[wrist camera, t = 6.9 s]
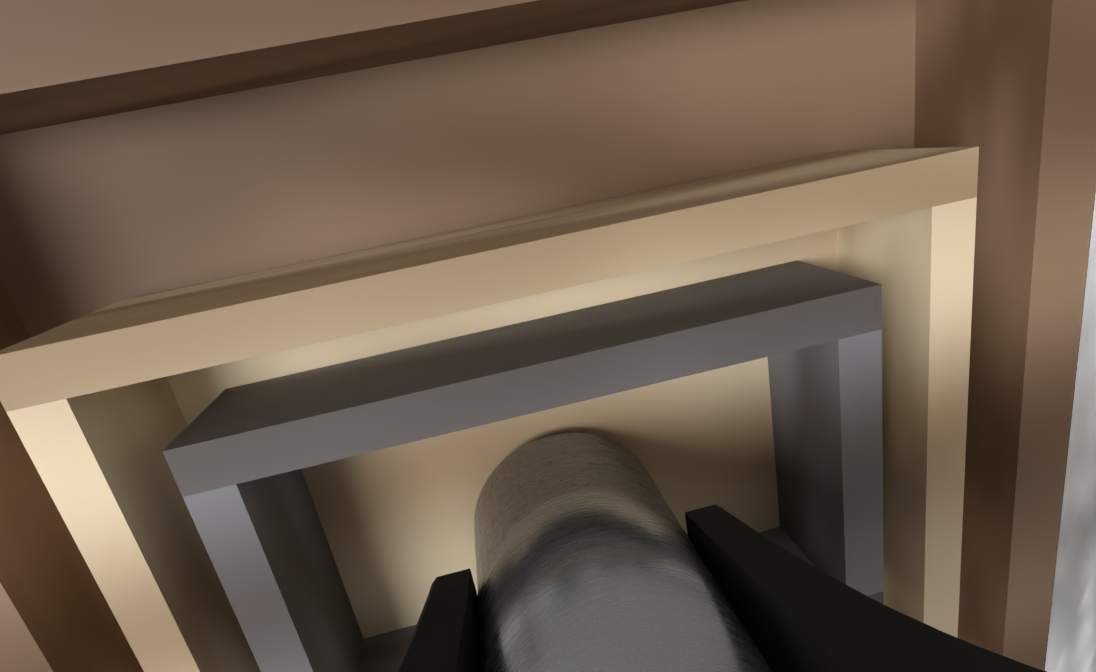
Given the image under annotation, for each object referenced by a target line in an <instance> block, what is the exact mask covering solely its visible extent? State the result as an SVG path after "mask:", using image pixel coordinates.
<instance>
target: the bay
mask: <svg viewBox="0 0 1096 672" xmlns="http://www.w3.org/2000/svg"><path fill="white" fill-rule="evenodd" d="M976 146H979V160H978V182H977V205H976V228H975V251H974V273H973V296H972V319H971V342H970V364H969V387H968V410H967V432H966V455H965V478H964V501H963V523H962V546H961V569H960V592H959V614H958V637H957V638H959V639H961V640H964V641H966V642H969V643H971V644H974V645H976V646H979V647H981V648H984V649H987V650H989V651H992V652H994V653H997V654H1000V655H1002V656H1005V657H1008V658H1010V659H1013V660H1015V661H1018V662H1021V663H1023V664H1026V665H1029V666H1031V667H1034V668H1037V669H1040V670H1043V671H1045V661H1046V652H1047V642H1048V633H1049V624H1050V614H1051V605H1052V596H1053V586H1054V577H1055V567H1056V558H1057V549H1058V539H1059V530H1060V520H1061V511H1062V502H1063V492H1064V483H1065V474H1066V464H1067V455H1068V445H1069V436H1070V427H1071V417H1072V408H1073V399H1074V389H1075V380H1076V370H1077V361H1078V352H1079V342H1080V333H1081V323H1082V314H1083V305H1084V295H1085V286H1086V277H1087V267H1088V258H1089V248H1090V239H1091V230H1092V220H1093V211H1094V201H1095V192H1096V0H0V350H2V349H5V348H7V347H9V346H12V345H14V344H17V343H19V342H21V341H24V340H26V339H29V338H31V337H34V336H36V335H38V334H41V333H43V332H46V331H48V330H51V329H53V328H55V327H58V326H60V325H63V324H65V323H68V322H70V321H72V320H75V319H77V318H80V317H82V316H84V315H87V314H89V313H92V312H94V311H97V310H99V309H101V308H104V307H106V306H109V305H111V304H114V303H116V302H118V301H122V300H127V299H131V298H136V297H141V296H146V295H151V294H155V293H160V292H165V291H170V290H175V289H179V288H184V287H189V286H194V285H199V284H203V283H208V282H213V281H218V280H223V279H227V278H232V277H237V276H242V275H247V274H251V273H256V272H261V271H266V270H271V269H275V268H280V267H285V266H290V265H295V264H299V263H304V262H309V261H314V260H319V259H323V258H328V257H333V256H338V255H342V254H347V253H352V252H357V251H362V250H366V249H371V248H376V247H381V246H386V245H390V244H395V243H400V242H405V241H410V240H414V239H419V238H424V237H429V236H434V235H438V234H443V233H448V232H453V231H458V230H462V229H467V228H472V227H477V226H482V225H486V224H491V223H496V222H501V221H506V220H510V219H515V218H520V217H525V216H530V215H534V214H539V213H544V212H549V211H553V210H558V209H563V208H568V207H573V206H577V205H582V204H587V203H592V202H597V201H601V200H606V199H611V198H616V197H621V196H625V195H630V194H635V193H640V192H645V191H649V190H654V189H659V188H664V187H669V186H673V185H678V184H683V183H688V182H693V181H697V180H702V179H707V178H712V177H717V176H721V175H726V174H731V173H736V172H741V171H745V170H750V169H755V168H760V167H764V166H769V165H774V164H779V163H784V162H788V161H793V160H798V159H803V158H808V157H812V156H817V155H822V154H827V153H832V152H836V151H847V150H880V149H912V148H944V147H976ZM0 672H144V671H143V669H142V667H141V665H140V663H139V661H138V660H137V658H136V656H135V654H134V652H133V650H132V648H131V646H130V644H129V643H128V641H127V639H126V637H125V635H124V633H123V631H122V629H121V627H120V626H119V624H118V622H117V620H116V618H115V616H114V614H113V612H112V611H111V609H110V607H109V605H108V603H107V601H106V599H105V597H104V595H103V594H102V592H101V590H100V588H99V586H98V584H97V582H96V580H95V579H94V577H93V575H92V573H91V571H90V569H89V567H88V565H87V563H86V562H85V560H84V558H83V556H82V554H81V552H80V550H79V548H78V546H77V545H76V543H75V541H74V539H73V537H72V535H71V533H70V531H69V530H68V528H67V526H66V524H65V522H64V520H63V518H62V516H61V514H60V513H59V511H58V509H57V507H56V505H55V503H54V501H53V499H52V497H51V496H50V494H49V492H48V490H47V488H46V486H45V484H44V482H43V481H42V479H41V477H40V475H39V473H38V471H37V469H36V467H35V465H34V464H33V462H32V460H31V458H30V456H29V454H28V452H27V450H26V448H25V447H24V445H23V443H22V441H21V439H20V437H19V435H18V433H17V432H16V430H15V428H14V426H13V424H12V422H11V420H10V418H9V416H8V415H7V413H6V411H5V409H4V407H3V405H2V403H1V401H0Z"/></svg>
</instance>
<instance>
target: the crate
mask: <svg viewBox="0 0 1096 672" xmlns="http://www.w3.org/2000/svg"><path fill="white" fill-rule="evenodd" d="M978 160H979V146H976V147H944V148H912V149H880V150H847V151H836V152H832V153H827V154H822V155H817V156H812V157H808V158H803V159H798V160H793V161H788V162H784V163H779V164H774V165H769V166H764V167H760V168H755V169H750V170H745V171H741V172H736V173H731V174H726V175H721V176H717V177H712V178H707V179H702V180H697V181H693V182H688V183H683V184H678V185H673V186H669V187H664V188H659V189H654V190H649V191H645V192H640V193H635V194H630V195H625V196H621V197H616V198H611V199H606V200H601V201H597V202H592V203H587V204H582V205H577V206H573V207H568V208H563V209H558V210H553V211H549V212H544V213H539V214H534V215H530V216H525V217H520V218H515V219H510V220H506V221H501V222H496V223H491V224H486V225H482V226H477V227H472V228H467V229H462V230H458V231H453V232H448V233H443V234H438V235H434V236H429V237H424V238H419V239H414V240H410V241H405V242H400V243H395V244H390V245H386V246H381V247H376V248H371V249H366V250H362V251H357V252H352V253H347V254H342V255H338V256H333V257H328V258H323V259H319V260H314V261H309V262H304V263H299V264H295V265H290V266H285V267H280V268H275V269H271V270H266V271H261V272H256V273H251V274H247V275H242V276H237V277H232V278H227V279H223V280H218V281H213V282H208V283H203V284H199V285H194V286H189V287H184V288H179V289H175V290H170V291H165V292H160V293H155V294H151V295H146V296H141V297H136V298H131V299H127V300H122V301H118V302H116V303H114V304H111V305H109V306H106V307H104V308H101V309H99V310H97V311H94V312H92V313H89V314H87V315H84V316H82V317H80V318H77V319H75V320H72V321H70V322H68V323H65V324H63V325H60V326H58V327H55V328H53V329H51V330H48V331H46V332H43V333H41V334H38V335H36V336H34V337H31V338H29V339H26V340H24V341H21V342H19V343H17V344H14V345H12V346H9V347H7V348H5V349H2V350H0V401H1V403H2V405H3V407H4V409H5V411H6V413H7V415H8V416H9V418H10V420H11V422H12V424H13V426H14V428H15V430H16V432H17V433H18V435H19V437H20V439H21V441H22V443H23V445H24V447H25V448H26V450H27V452H28V454H29V456H30V458H31V460H32V462H33V464H34V465H35V467H36V469H37V471H38V473H39V475H40V477H41V479H42V481H43V482H44V484H45V486H46V488H47V490H48V492H49V494H50V496H51V497H52V499H53V501H54V503H55V505H56V507H57V509H58V511H59V513H60V514H61V516H62V518H63V520H64V522H65V524H66V526H67V528H68V530H69V531H70V533H71V535H72V537H73V539H74V541H75V543H76V545H77V546H78V548H79V550H80V552H81V554H82V556H83V558H84V560H85V562H86V563H87V565H88V567H89V569H90V571H91V573H92V575H93V577H94V579H95V580H96V582H97V584H98V586H99V588H100V590H101V592H102V594H103V595H104V597H105V599H106V601H107V603H108V605H109V607H110V609H111V611H112V612H113V614H114V616H115V618H116V620H117V622H118V624H119V626H120V627H121V629H122V631H123V633H124V635H125V637H126V639H127V641H128V643H129V644H130V646H131V648H132V650H133V652H134V654H135V656H136V658H137V660H138V661H139V663H140V665H141V667H142V669H143V671H144V672H396V670H397V668H398V666H399V663H400V661H401V659H402V657H403V655H404V652H405V650H406V648H407V646H408V644H409V641H410V639H411V637H412V634H413V632H414V629H415V627H416V625H417V622H418V620H419V617H420V615H421V612H422V610H423V607H424V604H425V602H426V599H427V596H428V594H429V591H430V588H431V585H432V583H433V582H434V580H435V579H436V577H439V576H443V575H446V574H450V573H454V572H458V571H462V570H466V569H469V568H470V570H471V574H472V577H473V581H474V584H475V588H476V592H477V595H478V591H477V572H476V553H475V533H474V515H475V509H476V504H477V500H478V498H479V495H480V492H481V490H482V488H483V486H484V484H485V482H486V481H487V479H488V478H489V476H490V475H491V474H492V472H493V471H494V470H495V469H496V468H497V467H498V465H499V464H500V463H501V462H502V461H503V460H505V459H506V458H507V457H508V456H510V455H511V454H512V453H513V452H515V451H517V450H518V449H520V448H521V447H523V446H525V445H527V444H529V443H531V442H533V441H536V440H538V439H541V438H544V437H547V436H552V435H556V434H563V433H587V434H594V435H598V436H602V437H605V438H608V439H611V440H613V441H615V442H617V443H619V444H621V445H622V446H624V447H626V448H627V449H628V450H630V451H631V452H632V453H633V454H634V455H636V457H637V458H638V459H639V460H640V461H641V462H642V463H643V465H644V466H645V468H646V469H647V471H648V473H649V474H650V476H651V477H652V479H653V481H654V482H655V484H656V485H657V487H658V489H659V490H660V492H661V493H662V495H663V497H664V498H665V500H666V501H667V503H668V505H669V506H670V508H671V510H672V511H673V513H674V514H675V516H676V518H677V519H678V521H679V522H680V524H681V526H682V527H683V529H684V530H685V532H686V534H687V535H688V533H687V526H686V518H685V512H688V511H692V510H696V509H700V508H704V507H707V506H711V505H715V504H716V505H718V506H719V507H721V508H722V509H724V510H725V511H727V512H728V513H730V514H732V515H733V516H735V517H736V518H738V519H739V520H741V521H742V522H744V523H745V524H747V525H748V526H750V527H751V528H753V529H754V530H756V531H757V532H759V533H761V534H762V535H764V536H765V537H767V538H768V539H770V540H771V541H773V542H774V543H776V544H778V545H779V546H781V547H782V548H784V549H786V550H787V551H789V552H790V553H792V554H794V555H795V556H797V557H799V558H800V559H802V560H804V561H805V562H807V563H809V564H810V565H812V566H814V567H815V568H817V569H819V570H820V571H822V572H824V573H826V574H827V575H829V576H831V577H833V578H834V579H836V580H838V581H840V582H842V583H844V584H846V585H848V586H849V587H851V588H853V589H855V590H857V591H859V592H861V593H862V594H864V595H866V596H868V597H870V598H872V599H874V600H876V601H878V602H880V603H882V604H884V605H886V606H888V607H890V608H892V609H894V610H896V611H898V612H901V613H903V614H905V615H907V616H909V617H911V618H914V619H916V620H918V621H920V622H922V623H925V624H927V625H929V626H931V627H933V628H936V629H938V630H940V631H942V632H945V633H947V634H949V635H952V636H954V637H958V614H959V592H960V569H961V546H962V523H963V501H964V478H965V455H966V432H967V410H968V387H969V364H970V342H971V319H972V296H973V273H974V251H975V228H976V205H977V182H978Z"/></svg>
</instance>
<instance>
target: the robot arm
mask: <svg viewBox="0 0 1096 672" xmlns="http://www.w3.org/2000/svg"><path fill="white" fill-rule="evenodd" d="M685 518H686V526H687V533H688V537H689V538H690V540H691V542H692V543H693V545H694V547H695V548H696V550H697V551H698V553H699V555H700V556H701V558H702V559H703V561H704V563H705V564H706V566H707V567H708V569H709V571H710V572H711V574H712V575H713V577H714V579H715V580H716V582H717V584H718V585H719V587H720V588H721V590H722V592H723V593H724V595H725V596H726V598H727V600H728V601H729V603H730V604H731V606H732V608H733V609H734V611H735V612H736V614H737V616H738V617H739V619H740V621H741V622H742V624H743V625H744V627H745V629H746V630H747V632H748V633H749V635H750V637H751V638H752V640H753V641H754V643H755V645H756V646H757V648H758V649H759V651H760V653H761V654H762V656H763V658H764V659H765V661H766V662H767V664H768V666H769V667H770V669H771V670H772V672H1046V671H1043V670H1040V669H1037V668H1034V667H1031V666H1029V665H1026V664H1023V663H1021V662H1018V661H1015V660H1013V659H1010V658H1008V657H1005V656H1002V655H1000V654H997V653H994V652H992V651H989V650H987V649H984V648H981V647H979V646H976V645H974V644H971V643H969V642H966V641H964V640H961V639H959V638H957V637H954V636H952V635H949V634H947V633H945V632H942V631H940V630H938V629H936V628H933V627H931V626H929V625H927V624H925V623H922V622H920V621H918V620H916V619H914V618H911V617H909V616H907V615H905V614H903V613H901V612H898V611H896V610H894V609H892V608H890V607H888V606H886V605H884V604H882V603H880V602H878V601H876V600H874V599H872V598H870V597H868V596H866V595H864V594H862V593H861V592H859V591H857V590H855V589H853V588H851V587H849V586H848V585H846V584H844V583H842V582H840V581H838V580H836V579H834V578H833V577H831V576H829V575H827V574H826V573H824V572H822V571H820V570H819V569H817V568H815V567H814V566H812V565H810V564H809V563H807V562H805V561H804V560H802V559H800V558H799V557H797V556H795V555H794V554H792V553H790V552H789V551H787V550H786V549H784V548H782V547H781V546H779V545H778V544H776V543H774V542H773V541H771V540H770V539H768V538H767V537H765V536H764V535H762V534H761V533H759V532H757V531H756V530H754V529H753V528H751V527H750V526H748V525H747V524H745V523H744V522H742V521H741V520H739V519H738V518H736V517H735V516H733V515H732V514H730V513H728V512H727V511H725V510H724V509H722V508H721V507H719V506H718V505H716V504H715V505H711V506H707V507H704V508H700V509H696V510H692V511H688V512H685ZM396 672H482V668H481V648H480V629H479V610H478V595H477V592H476V588H475V584H474V581H473V577H472V574H471V570H470V568H469V569H466V570H462V571H458V572H454V573H450V574H446V575H443V576H439V577H436V579H435V580H434V582H433V583H432V585H431V588H430V591H429V594H428V596H427V599H426V602H425V604H424V607H423V610H422V612H421V615H420V617H419V620H418V622H417V625H416V627H415V629H414V632H413V634H412V637H411V639H410V641H409V644H408V646H407V648H406V650H405V652H404V655H403V657H402V659H401V661H400V663H399V666H398V668H397V670H396Z"/></svg>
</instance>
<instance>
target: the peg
mask: <svg viewBox="0 0 1096 672" xmlns="http://www.w3.org/2000/svg"><path fill="white" fill-rule="evenodd" d="M474 533H475V553H476V572H477V591H478V610H479V629H480V648H481V668H482V672H772V670H771V669H770V667H769V666H768V664H767V662H766V661H765V659H764V658H763V656H762V654H761V653H760V651H759V649H758V648H757V646H756V645H755V643H754V641H753V640H752V638H751V637H750V635H749V633H748V632H747V630H746V629H745V627H744V625H743V624H742V622H741V621H740V619H739V617H738V616H737V614H736V612H735V611H734V609H733V608H732V606H731V604H730V603H729V601H728V600H727V598H726V596H725V595H724V593H723V592H722V590H721V588H720V587H719V585H718V584H717V582H716V580H715V579H714V577H713V575H712V574H711V572H710V571H709V569H708V567H707V566H706V564H705V563H704V561H703V559H702V558H701V556H700V555H699V553H698V551H697V550H696V548H695V547H694V545H693V543H692V542H691V540H690V538H689V537H688V535H687V534H686V532H685V530H684V529H683V527H682V526H681V524H680V522H679V521H678V519H677V518H676V516H675V514H674V513H673V511H672V510H671V508H670V506H669V505H668V503H667V501H666V500H665V498H664V497H663V495H662V493H661V492H660V490H659V489H658V487H657V485H656V484H655V482H654V481H653V479H652V477H651V476H650V474H649V473H648V471H647V469H646V468H645V466H644V465H643V463H642V462H641V461H640V460H639V459H638V458H637V457H636V455H634V454H633V453H632V452H631V451H630V450H628V449H627V448H626V447H624V446H622V445H621V444H619V443H617V442H615V441H613V440H611V439H608V438H605V437H602V436H598V435H594V434H587V433H563V434H556V435H552V436H547V437H544V438H541V439H538V440H536V441H533V442H531V443H529V444H527V445H525V446H523V447H521V448H520V449H518V450H517V451H515V452H513V453H512V454H511V455H510V456H508V457H507V458H506V459H505V460H503V461H502V462H501V463H500V464H499V465H498V467H497V468H496V469H495V470H494V471H493V472H492V474H491V475H490V476H489V478H488V479H487V481H486V482H485V484H484V486H483V488H482V490H481V492H480V495H479V498H478V500H477V504H476V509H475V515H474Z"/></svg>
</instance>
